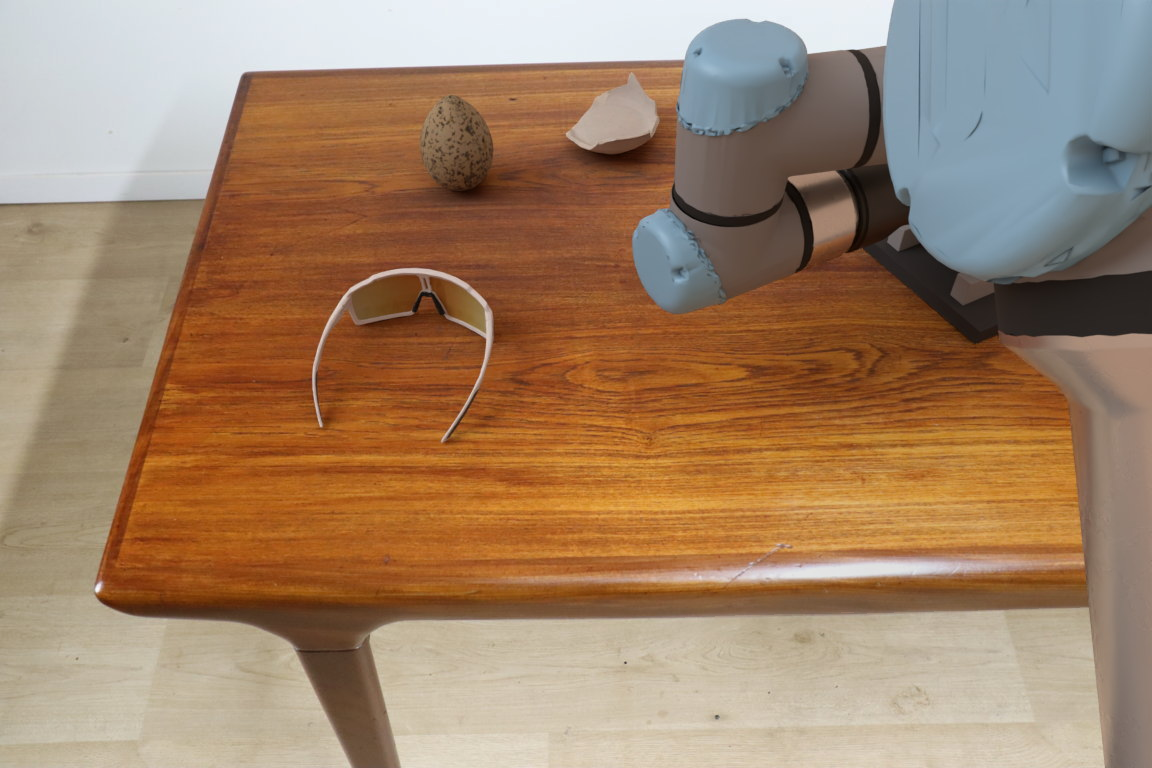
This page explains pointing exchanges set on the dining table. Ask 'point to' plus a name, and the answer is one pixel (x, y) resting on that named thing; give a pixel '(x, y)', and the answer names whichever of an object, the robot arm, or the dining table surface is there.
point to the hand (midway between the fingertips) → (1055, 125)
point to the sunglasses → (401, 298)
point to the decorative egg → (456, 144)
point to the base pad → (940, 284)
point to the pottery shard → (617, 120)
